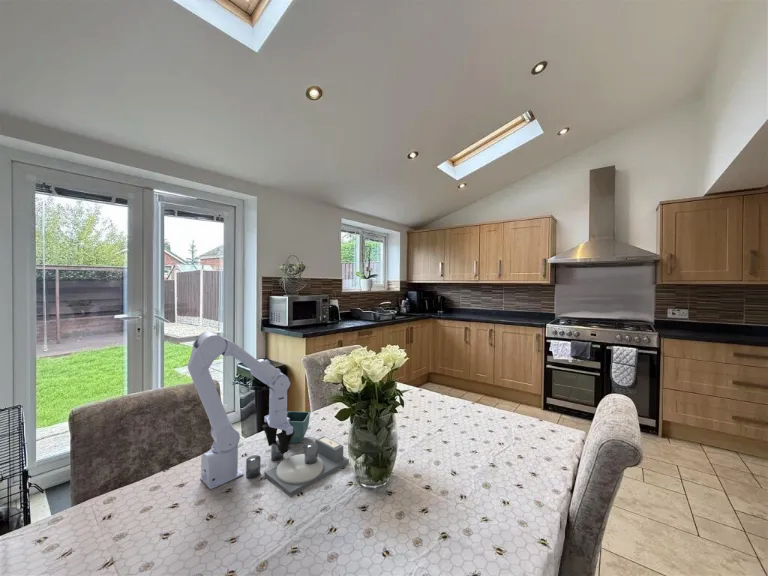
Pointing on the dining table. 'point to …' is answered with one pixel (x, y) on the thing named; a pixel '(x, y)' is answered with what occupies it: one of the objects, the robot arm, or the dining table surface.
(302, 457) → the scale
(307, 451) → the cylinder
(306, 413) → the flower pot
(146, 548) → the dining table surface
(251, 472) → the cylinder
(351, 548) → the dining table surface
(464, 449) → the dining table surface
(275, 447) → the cylinder
